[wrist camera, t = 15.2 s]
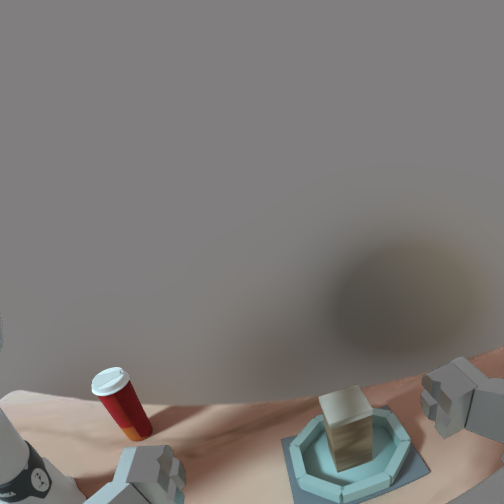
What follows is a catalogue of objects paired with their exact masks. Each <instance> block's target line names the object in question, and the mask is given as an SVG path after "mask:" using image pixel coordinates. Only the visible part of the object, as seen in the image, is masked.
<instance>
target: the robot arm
mask: <svg viewBox="0 0 504 504" xmlns="http://www.w3.org/2000/svg"><path fill="white" fill-rule="evenodd" d="M3 343H4V325H3V320H2V316H1V313H0V353H1V351H2V348H3ZM422 386H423V387H424V390H423V392H422V393H421V400H420V402H421V406H422V410H423V412H424V414H425V415H426V417H427V418H428V419H430V420H434V421H435V429H436V430H437V431H438V432H439V434H440V435H441V436H442V438H443V439H446V438H448V437H449V436H451V435H453V434H455V433H457V432H459V431H460V430H462V429H464V428H465V429H466V430H468V431H471V432H473V433H476V434H479V435H481V436H484V437H487V438H489V439H492V440H495V441H498V442H500V443H503V444H504V379H501V378H495V377H493V378H491V379H489V378H488V377H487V376H486V375H485V374H483V373H482V372H481V371H480V370H479V369H478V368H476V367H475V366H474V365H473V364H472V363H471V362H469V361H468V360H467V359H466V358H465V357H462V356H459V357H458V358H456V359H454V360H452V361H450V362H449V363H446V364H444V365H443V366H441V367H439V368H437V369H435V370H433V371H431V372H429V373H427V374H424V375H423V378H422ZM173 455H174V451H173V450H172V448H171V447H170V446H169V445H159V446H139V447H125V448H124V449H123V451H122V454H121V457H120V460H119V463H118V466H117V469H116V472H115V475H114V478H113V481H112V482H108V483H107V484H106V485H105V486H103V487H102V488H101V489H100V490H99V491H97V492H96V493H95V494H94V495H93V496H91V497H90V498H89V499H88V500H87V499H86V497H85V496H84V494H83V493H82V492H81V491H80V490H79V489H78V488H77V484H76V481H75V480H74V479H73V478H72V477H71V476H64V475H63V474H62V473H61V472H60V471H59V470H58V469H57V468H56V467H55V466H54V465H53V464H52V463H51V462H50V461H49V460H48V459H46V458H45V457H43V458H42V457H40V455H39V454H38V453H37V451H36V450H35V449H34V448H33V447H32V446H31V445H30V444H29V443H28V442H27V441H25V440H23V438H22V437H21V436H20V434H19V433H18V432H17V430H16V429H15V428H14V426H13V425H12V423H11V422H10V421H9V419H8V418H7V416H6V415H5V413H4V412H3V410H2V409H1V408H0V504H184V496H185V495H184V494H183V493H182V492H181V490H182V488H183V487H184V486H185V485H186V474H185V469H184V467H183V464H182V463H181V461H180V460H178V459H176V458H175V457H173ZM501 461H502V462H503V463H504V453H503V455H502V458H501ZM446 504H504V466H503V467H501V468H500V469H499V470H497V471H496V472H495V473H493V474H492V475H490V476H489V477H487V478H486V479H485V480H483V481H482V482H480V483H479V484H477V485H476V486H474V487H472V488H471V489H469V490H468V491H466V492H465V493H463V494H461V495H460V496H458V497H456V498H455V499H453V500H451V501H449V502H448V503H446Z"/></svg>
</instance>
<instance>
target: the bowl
mask: <svg viewBox="0 0 504 504" xmlns="http://www.w3.org/2000/svg"><path fill="white" fill-rule="evenodd" d="M315 417H316V419H315V418H312V419H311V420H310V422H309V423H308V424H307V425H306V426H305V428H304V429H303V430H302V431H301V432H300V434H299V435H298V436H297V437H296V438H295V439H294V440H293V442H292V443H291V444H290V447H289V449H290V454H291V458H292V463H293V467H294V472H295V476H296V480H297V483H298V486H300V488H301V489H303V490H305V491H308V492H310V493H313V494H315V495H317V496H319V497H321V498H324V499H328V500H331V501H334V502H337V503H341V501H343V502H344V503H347V502H350V501H353V500H358V499H362V498H365V497H368V496H370V495H372V494H374V493H376V492H378V491H380V490H383V489H385V488H388V487H389V485H390V484H393V482H394V480H395V478H396V476H397V474H398V473H399V471H400V469H401V467H402V465H403V463H404V461H405V459H406V457H407V455H408V452H409V449H410V442H411V441H410V439H411V438H410V437H409V435H408V434H407V432H406V431H405V429H404V428H403V426H402V424H401V423H400V421H399V420H398V418H397V417H396V415H395V414H394V412H393V413H391V411H389V410H383V409H378V408H373V415H372V461H370V462H368V463H365V464H362V465H360V466H357V467H354V468H351V469H348V470H345V471H342V472H339V473H337V471H336V468H335V465H334V462H333V459H332V456H331V454H330V451H329V448H328V442H327V436H326V430H325V425H324V419H323V414H321V415H318V416H315Z"/></svg>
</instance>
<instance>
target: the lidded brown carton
mask: <svg viewBox="0 0 504 504" xmlns="http://www.w3.org/2000/svg"><path fill="white" fill-rule="evenodd" d="M319 402H320V405H321V409H322V414H323V419H324V425H325V430H326V436H327V442H328V448H329V451H330V454H331V456H332V459H333V462H334V465H335V468H336V471H337V473H339V472H342V471H345V470H348V469H351V468H354V467H357V466H360V465H362V464H365V463H368V462H370V461H372V415H373V408H372V407H371V405H370V403H369V402H368V400H367V398H366V396H365V395H364V393H363V391H362V390H361V388H360V386H359V385H358V384H355V385H353V386H350V387H347V388H344V389H341V390H338V391H335V392H332V393H328V394H325V395H322V396H319Z"/></svg>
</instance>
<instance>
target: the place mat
mask: <svg viewBox="0 0 504 504" xmlns="http://www.w3.org/2000/svg"><path fill="white" fill-rule="evenodd" d="M379 409H383V410H389V411H391V410H390V409H389V407H388V406H387V405H386V406H384V407H381V408H379ZM391 413H392V412H391ZM297 436H298V435H296V436H292V437H288V438H284V439H281V441H282V445H283V450H284V455H285V460H286V465H287V470H288V475H289V480H290V485H291V490H292V494H293V499H294V504H359V503H361V502H364V501H367V500H370V499H372V498H375V497H378V496H380V495H383V494H385V493H388V492H390V491H392V490H395V489H397V488H399V487H402V486H404V485H406V484H408V483H411V482H413V481H415V480H417V479H419V478H421V477H423V476H425V475H427V474H429V473H430V471H429V470H428V468H427V467H426V465H425V463H424V462H423V460H422V459H421V457H420V455H419V454H418V452H417V451H416V449H415V448H414V446H413V444H412V443H411V442H410V449H409V452H408V455H407V457H406V459H405V461H404V463H403V465H402V467H401V469H400V471H399V473H398V474H397V476H396V478H395V480H394V482H393V484H390V485H389V487H388V488H385V489H383V490H380V491H378V492H376V493H374V494H372V495H370V496H368V497H365V498H362V499H358V500H353V501H350V502H347V503H344V502H343V501H341V503H337V502H334V501H331V500H328V499H324V498H321V497H319V496H317V495H315V494H313V493H310V492H308V491H305V490H303V489H301V488H300V486H298V483H297V480H296V476H295V472H294V467H293V463H292V458H291V454H290V449H289V447H290V444H291V443H292V442H293V440H294V439H295V438H296V437H297Z"/></svg>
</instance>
